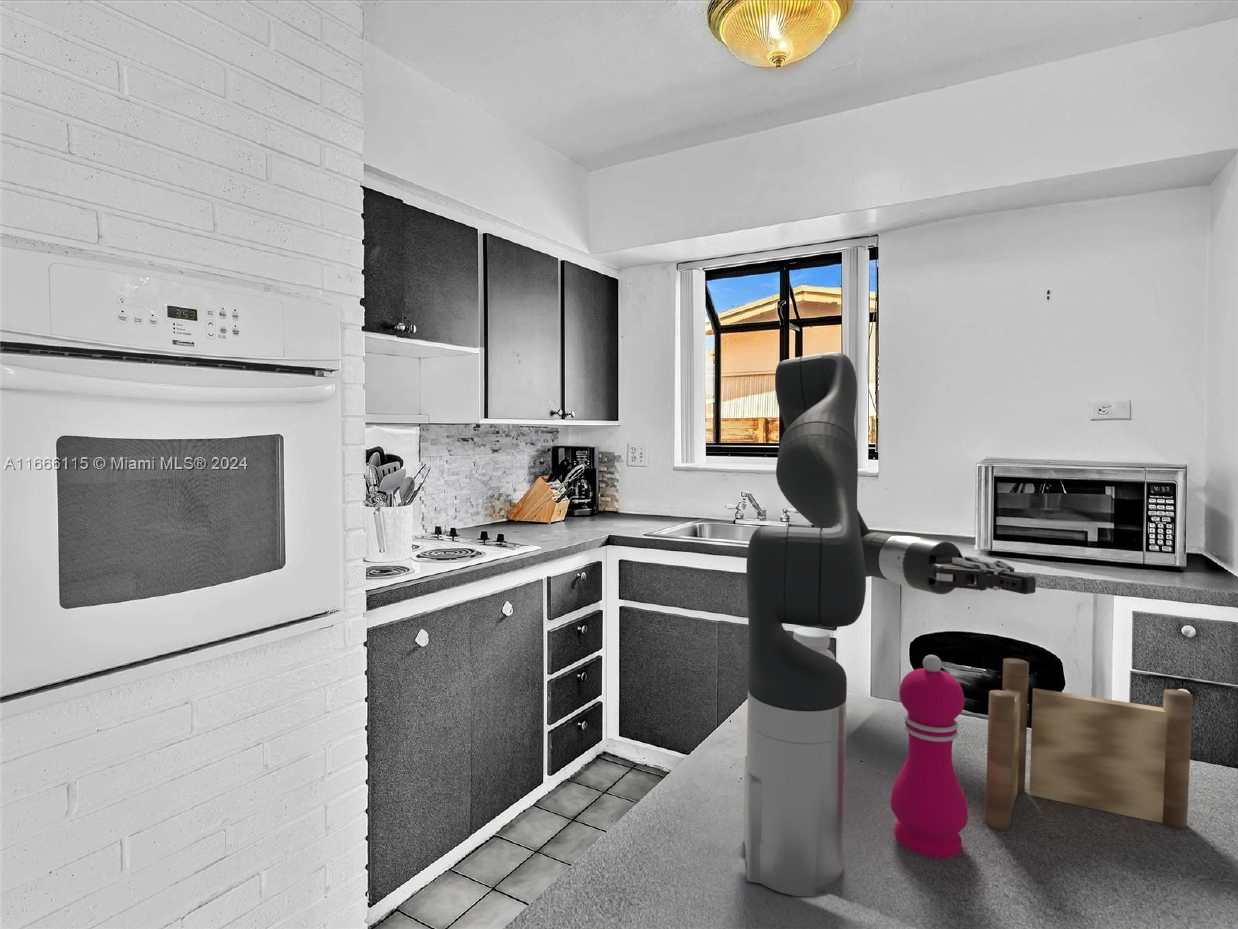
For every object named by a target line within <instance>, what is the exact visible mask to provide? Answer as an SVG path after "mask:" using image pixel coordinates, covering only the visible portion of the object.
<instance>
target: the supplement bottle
mask: <svg viewBox="0 0 1238 929" xmlns="http://www.w3.org/2000/svg"><path fill="white" fill-rule="evenodd" d="M830 636H831V634H830V632H829V631H828V630H826V629H822V628H818V627H811V626H810V627H808V626H804V627H797V628H794V629H793V636H792V637H793V638H794V639H795V640H797V641H798V642H799V643H801V644H803V645H804V646H806V647H808V648H810V649H812V650H814V651H816V652H819V653H821V654H823V655H826V656H828V657H830V658H831V659H833V660H835V661H836V657H835V655H834V653H833V652H832V651H831V650H829V649H828V648H829V647H830V644H831V637H830Z"/></svg>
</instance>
